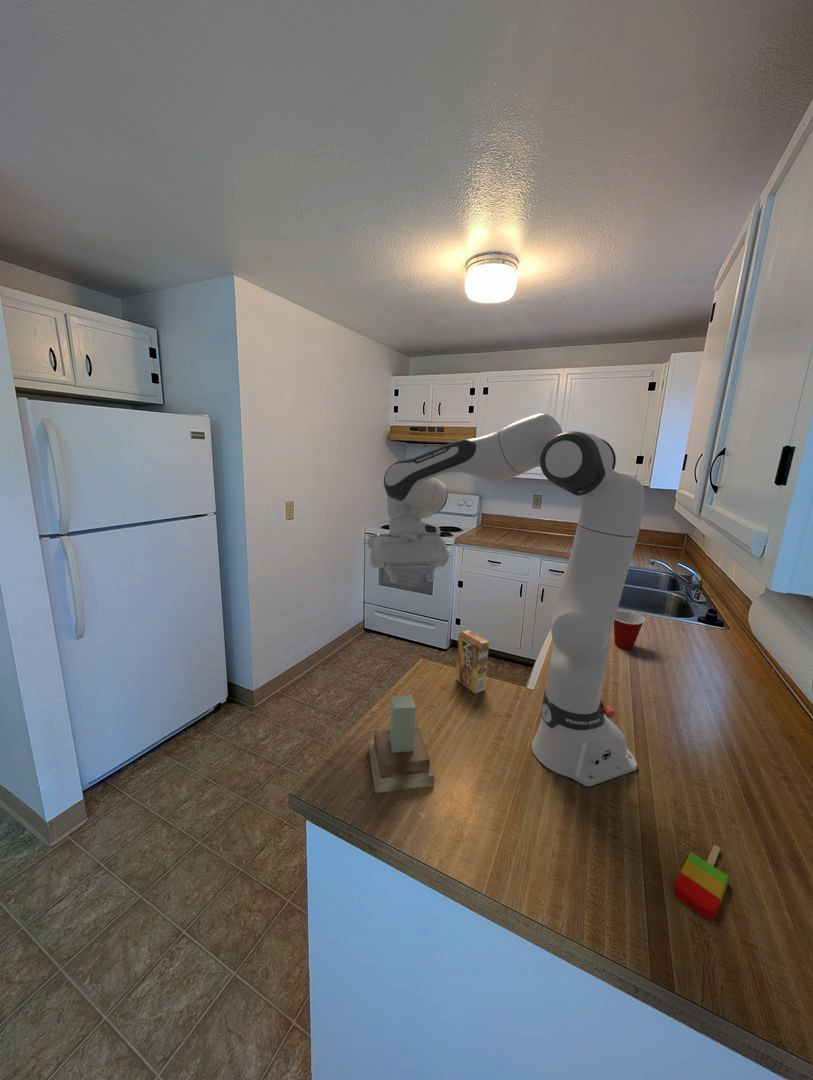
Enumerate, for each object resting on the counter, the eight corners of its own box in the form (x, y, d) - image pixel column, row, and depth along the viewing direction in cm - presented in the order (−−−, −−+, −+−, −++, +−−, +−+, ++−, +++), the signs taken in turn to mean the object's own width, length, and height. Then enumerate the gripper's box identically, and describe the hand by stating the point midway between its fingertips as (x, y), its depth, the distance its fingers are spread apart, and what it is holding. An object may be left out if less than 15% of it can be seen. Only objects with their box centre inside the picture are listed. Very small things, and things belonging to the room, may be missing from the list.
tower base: (420, 746, 95) (420, 735, 94) (433, 788, 83) (434, 775, 83) (368, 752, 92) (369, 740, 92) (375, 795, 81) (375, 782, 80)
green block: (410, 737, 89) (412, 695, 87) (413, 751, 85) (415, 707, 83) (389, 738, 88) (391, 696, 86) (392, 752, 84) (393, 708, 82)
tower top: (417, 738, 93) (418, 727, 92) (429, 772, 83) (429, 759, 83) (374, 743, 91) (374, 731, 90) (380, 778, 81) (381, 765, 81)
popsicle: (670, 895, 64) (673, 886, 64) (697, 839, 74) (699, 831, 74) (713, 926, 60) (715, 916, 60) (735, 862, 70) (737, 854, 70)
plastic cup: (600, 643, 150) (605, 613, 148) (617, 637, 156) (622, 608, 153) (629, 656, 141) (635, 624, 139) (646, 649, 147) (651, 618, 145)
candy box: (485, 690, 117) (490, 641, 114) (474, 694, 115) (479, 644, 112) (465, 675, 124) (469, 629, 121) (454, 679, 122) (458, 632, 119)
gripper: (368, 527, 104) (372, 575, 97) (445, 527, 108) (454, 574, 101) (366, 540, 109) (369, 587, 102) (440, 540, 113) (447, 585, 106)
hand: (412, 580), depth 101 cm, fingers open, 8 cm apart
